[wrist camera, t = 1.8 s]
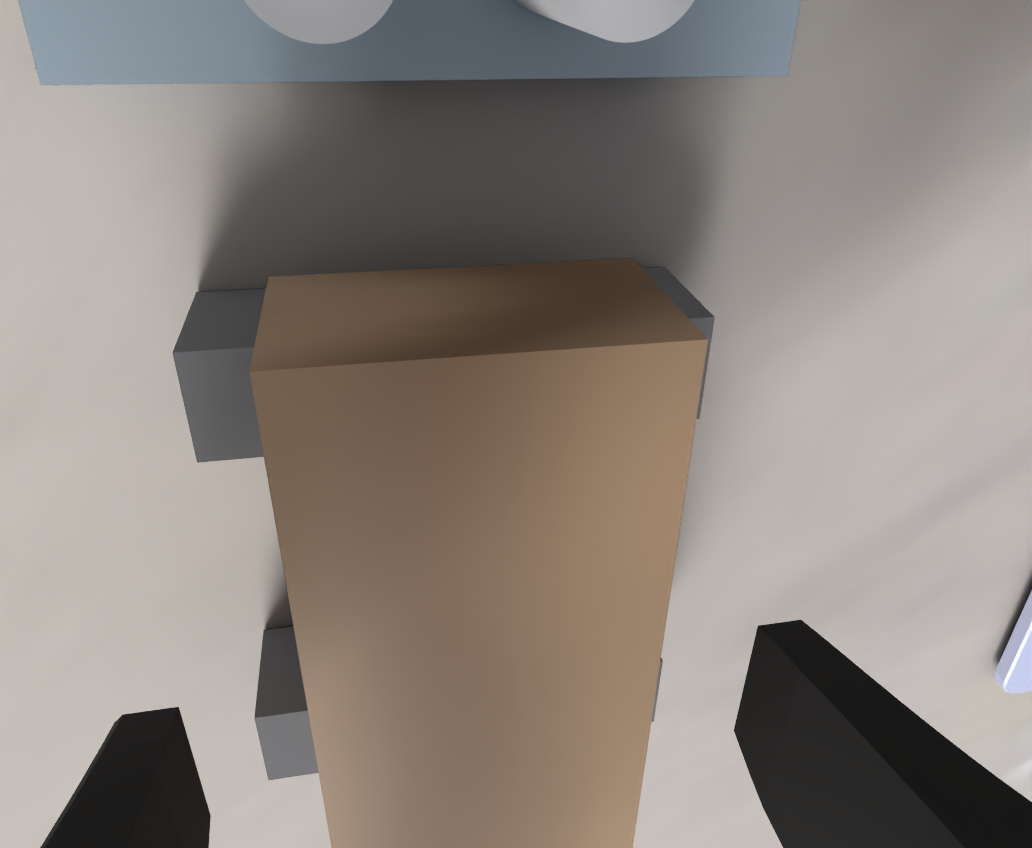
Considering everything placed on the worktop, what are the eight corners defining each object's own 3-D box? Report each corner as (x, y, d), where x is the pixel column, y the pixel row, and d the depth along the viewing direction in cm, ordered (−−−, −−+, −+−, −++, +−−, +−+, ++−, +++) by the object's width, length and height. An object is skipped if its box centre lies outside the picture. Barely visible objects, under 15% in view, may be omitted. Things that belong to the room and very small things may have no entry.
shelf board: (632, 258, 10) (708, 339, 8) (586, 762, 15) (625, 892, 13) (268, 276, 10) (250, 372, 7) (346, 800, 15) (348, 945, 13)
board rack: (664, 266, 13) (714, 316, 11) (621, 643, 17) (653, 721, 15) (196, 291, 12) (172, 353, 10) (276, 690, 16) (268, 780, 14)
